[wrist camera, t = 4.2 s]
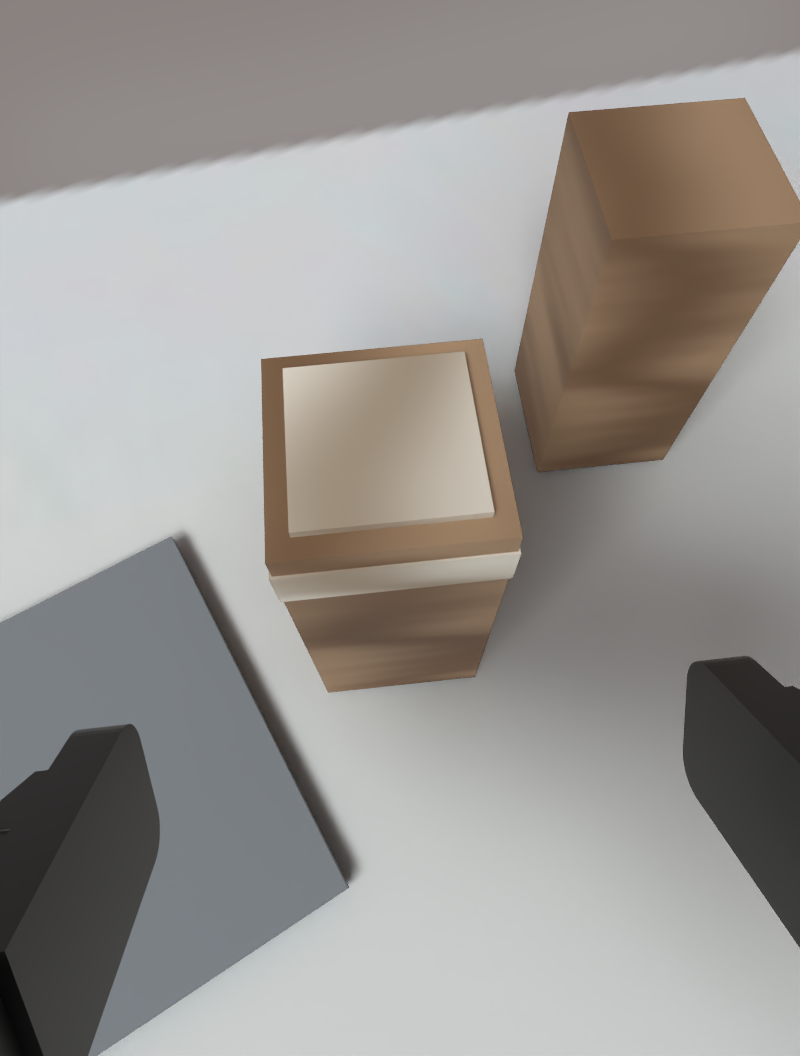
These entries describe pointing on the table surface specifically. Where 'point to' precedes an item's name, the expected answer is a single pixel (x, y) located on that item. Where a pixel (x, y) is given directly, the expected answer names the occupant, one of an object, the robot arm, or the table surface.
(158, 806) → the slate mat
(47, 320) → the table surface
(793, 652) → the table surface
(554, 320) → the plain box
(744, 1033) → the table surface
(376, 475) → the label box
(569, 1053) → the table surface
